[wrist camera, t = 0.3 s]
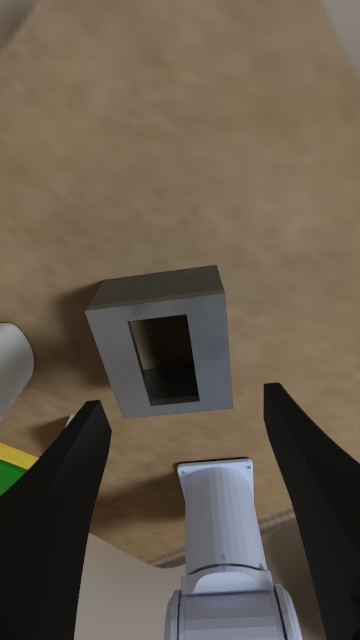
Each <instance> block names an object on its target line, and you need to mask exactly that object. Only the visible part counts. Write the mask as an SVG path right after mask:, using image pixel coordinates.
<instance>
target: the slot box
mask: <svg viewBox="0 0 360 640" xmlns="http://www.w3.org/2000/svg"><path fill="white" fill-rule="evenodd" d="M85 314H86V316H87V319H88V322H89V325H90V328H91V331H92V333H93V336H94V339H95V342H96V345H97V348H98V350H99V353H100V356H101V359H102V362H103V364H104V367H105V370H106V373H107V376H108V379H109V381H110V384H111V387H112V390H113V393H114V395H115V398H116V401H117V404H118V407H119V410H120V412H121V415H122V418H123V419H127V418H137V417H148V416H158V415H169V414H180V413H190V412H201V411H211V410H222V409H233V399H232V385H231V371H230V357H229V343H228V329H227V315H226V301H225V292H224V288H223V285H222V282H221V279H220V275H219V272H218V269H217V265H213V266H206V267H199V268H191V269H184V270H176V271H169V272H161V273H154V274H146V275H139V276H132V277H124V278H117V279H109V280H104V281H103V282H102V284H101V286H100V287H99V289H98V290H97V292H96V294H95V295H94V297H93V298H92V300H91V302H90V303H89V305H88V306H87V308H86V310H85ZM184 314H187V319H188V326H189V332H190V339H191V346H192V352H193V359H194V365H190V366H181V367H172V368H162V369H153V370H144V371H143V367H142V364H141V360H140V356H139V352H138V349H137V345H136V341H135V337H134V334H133V330H132V326H131V323H130V321H135V320H143V319H151V318H159V317H167V316H176V315H184Z"/></svg>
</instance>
